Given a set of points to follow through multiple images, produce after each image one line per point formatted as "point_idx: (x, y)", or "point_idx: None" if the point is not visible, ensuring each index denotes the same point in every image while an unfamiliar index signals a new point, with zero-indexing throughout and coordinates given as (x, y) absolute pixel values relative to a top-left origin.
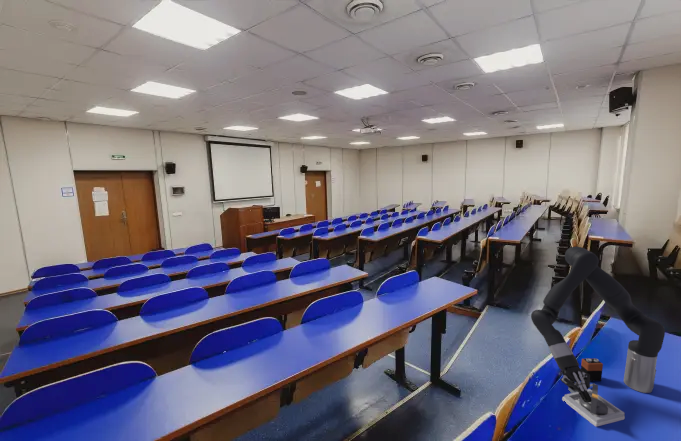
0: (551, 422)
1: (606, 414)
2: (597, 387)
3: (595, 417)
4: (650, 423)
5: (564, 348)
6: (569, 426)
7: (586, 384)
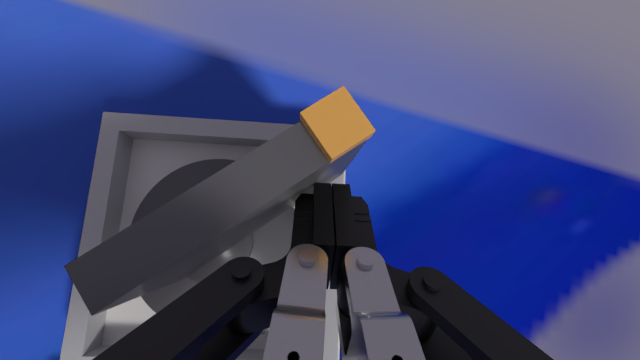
0: (554, 239)
1: None
2: (121, 237)
3: None
4: (19, 66)
5: None
6: (480, 188)
7: (244, 303)
